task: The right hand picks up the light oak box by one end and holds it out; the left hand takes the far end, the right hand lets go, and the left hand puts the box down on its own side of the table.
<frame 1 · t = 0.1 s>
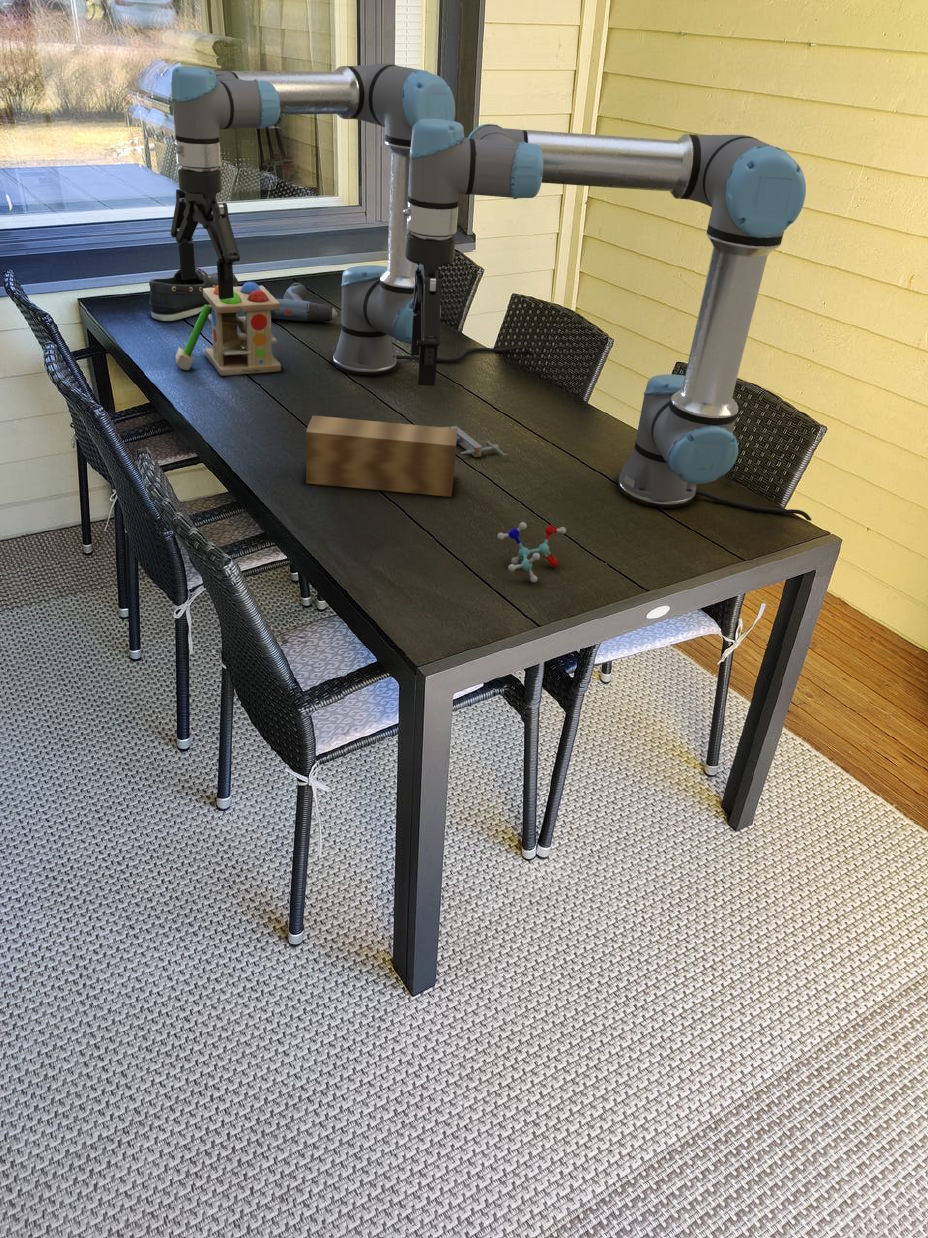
left hand: (207, 288, 186), 28 cm above the table, tool pointing down, fingers open, 13 cm apart
right hand: (422, 369, 160), 28 cm above the table, tool pointing down, fingers open, 13 cm apart
pounding bench toy: (225, 365, 230), on the table
power drill: (305, 313, 267), on the table
clamp: (468, 450, 202), on the table
box: (381, 481, 188), on the table
molecular model: (526, 568, 165), on the table
boat shoe: (196, 305, 265), on the table
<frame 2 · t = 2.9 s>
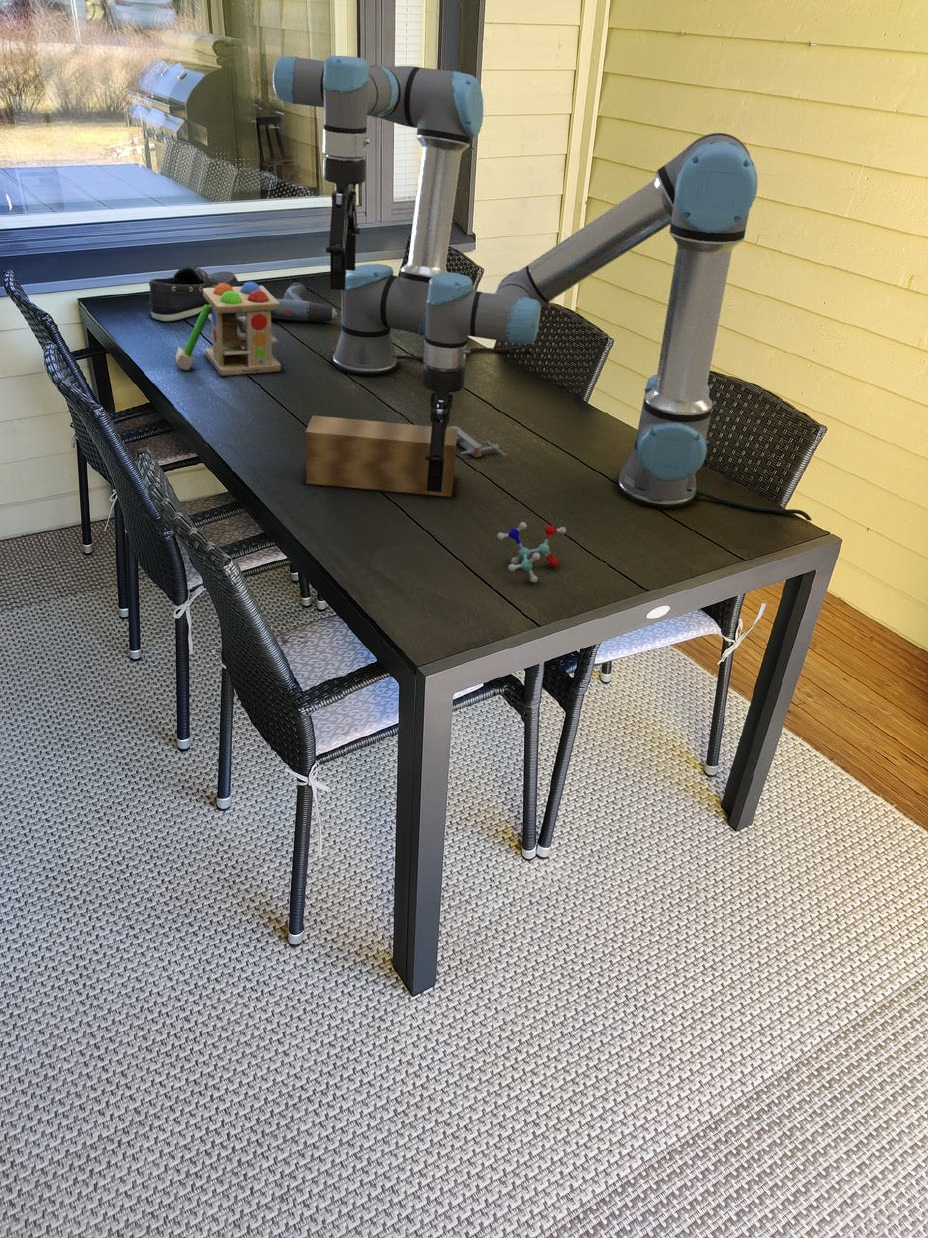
left hand: (343, 279, 185), 32 cm above the table, tool pointing down, fingers open, 13 cm apart
right hand: (435, 480, 187), 1 cm above the table, tool pointing down, fingers closed on box, 8 cm apart
box: (381, 481, 187), on the table, touching right hand
everything else where it was.
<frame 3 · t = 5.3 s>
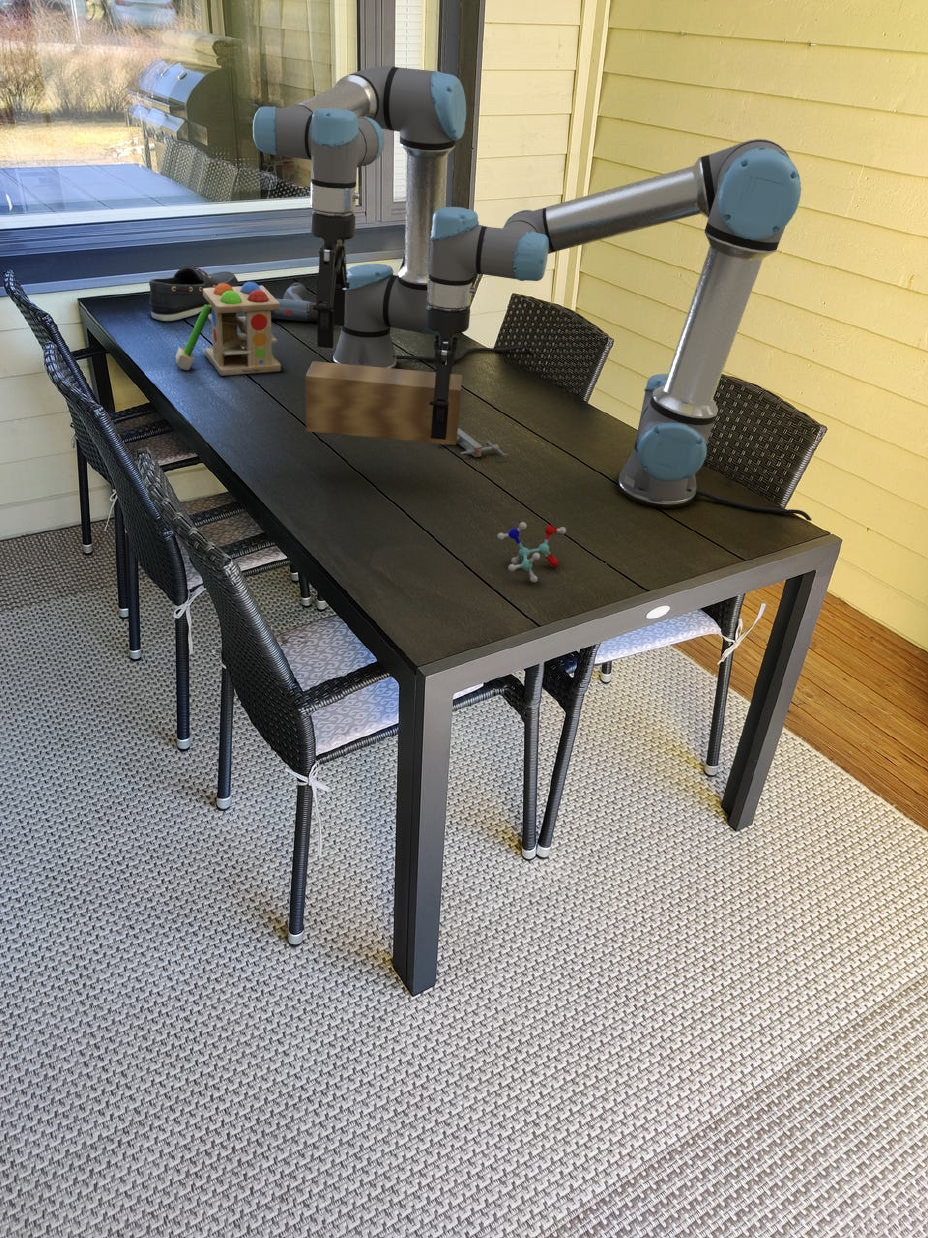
left hand: (331, 335, 178), 25 cm above the table, tool pointing down, fingers open, 13 cm apart
right hand: (439, 428, 181), 12 cm above the table, tool pointing down, fingers closed on box, 8 cm apart
box: (383, 429, 182), point 11 cm above the table, touching right hand
everything else where it was.
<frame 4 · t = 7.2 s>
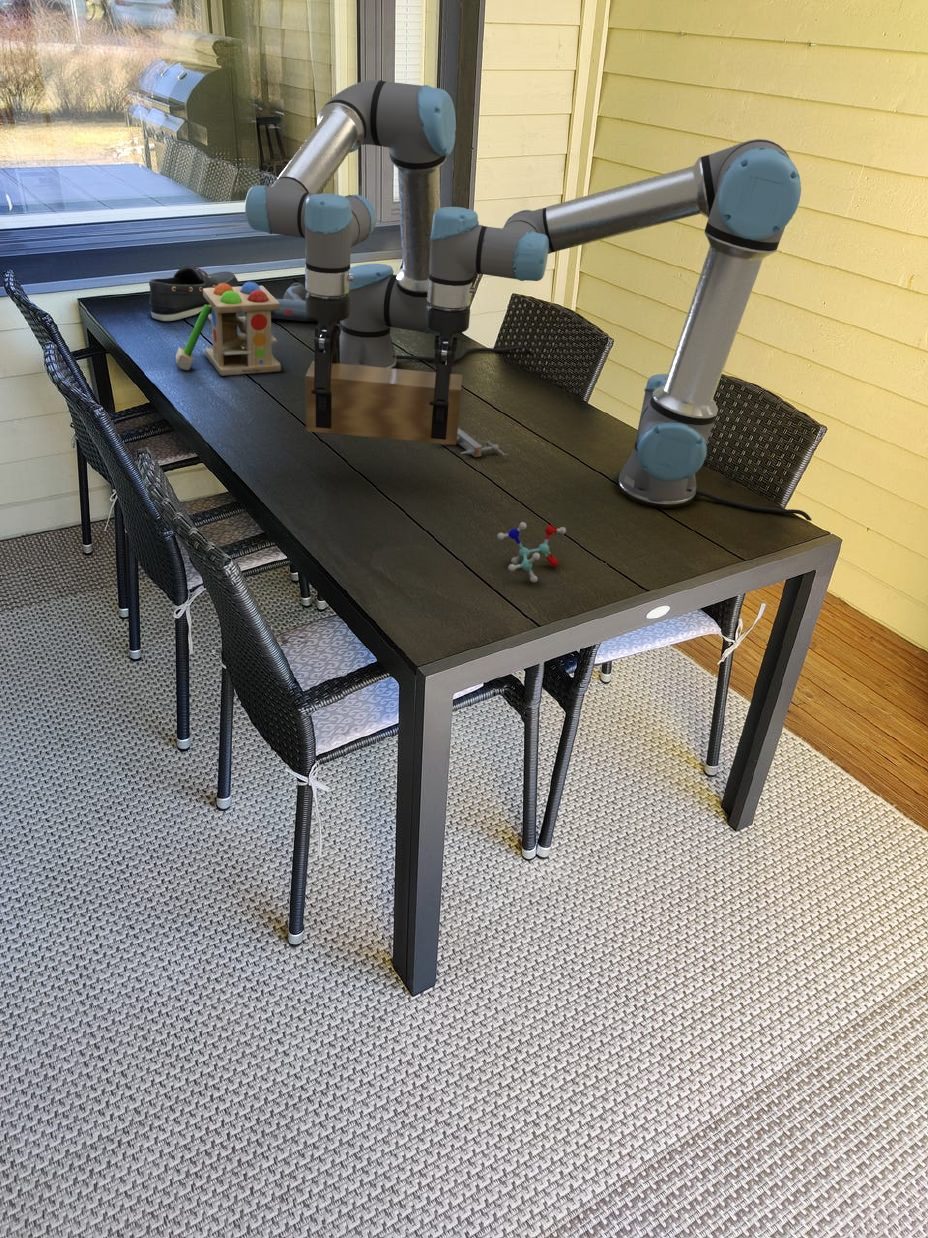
left hand: (327, 417, 181), 12 cm above the table, tool pointing down, fingers closed on box, 8 cm apart
right hand: (439, 428, 181), 12 cm above the table, tool pointing down, fingers closed on box, 8 cm apart
box: (383, 429, 182), point 11 cm above the table, touching left hand, right hand
everything else where it was.
when the right hand's fingers open (12 cm above the table, at t = 8.2 s): box stays where it is, held by the left hand.
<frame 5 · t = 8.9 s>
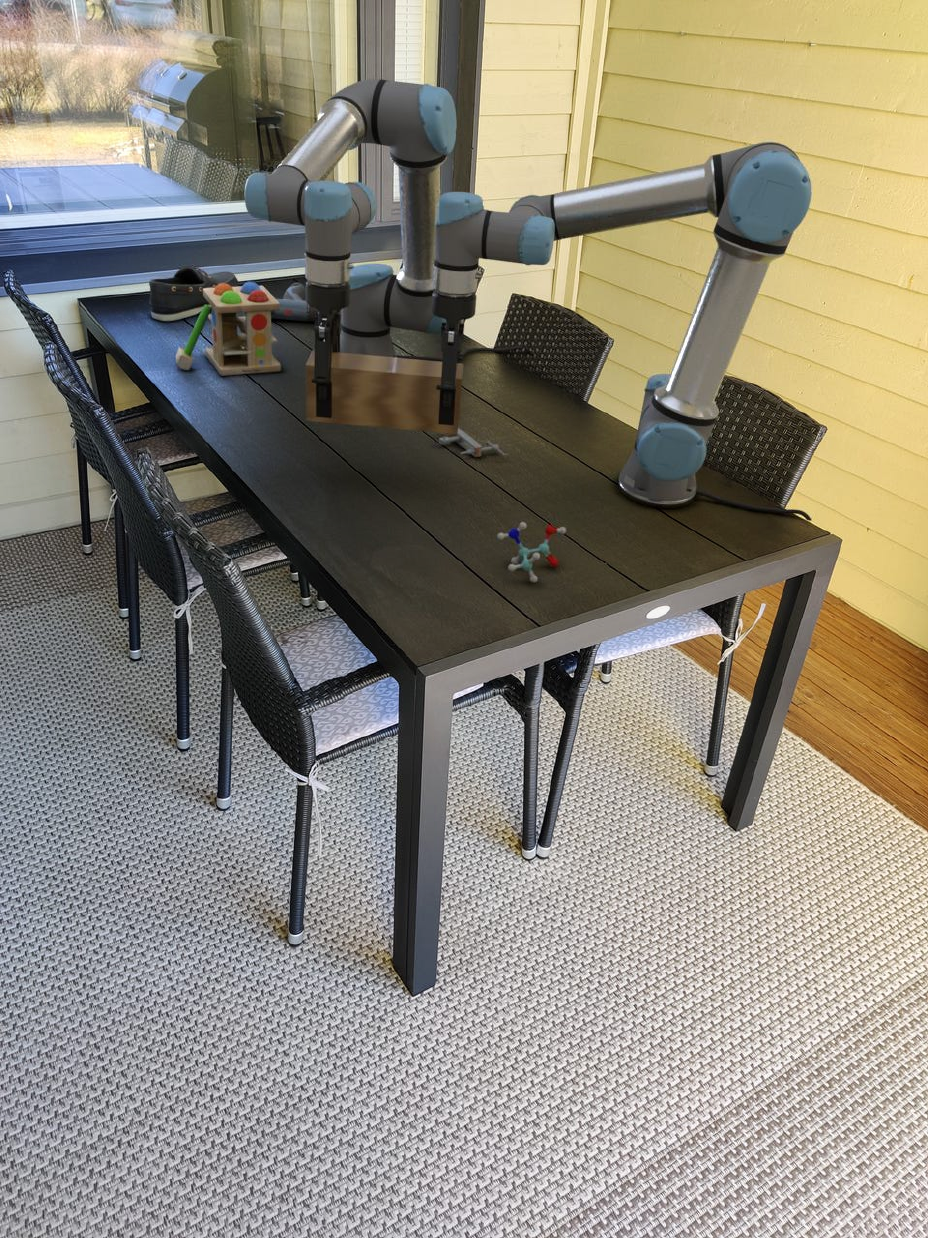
left hand: (327, 407, 180), 14 cm above the table, tool pointing down, fingers closed on box, 8 cm apart
right hand: (447, 409, 179), 16 cm above the table, tool pointing down, fingers open, 13 cm apart
box: (384, 419, 181), point 13 cm above the table, touching left hand
everything else where it was.
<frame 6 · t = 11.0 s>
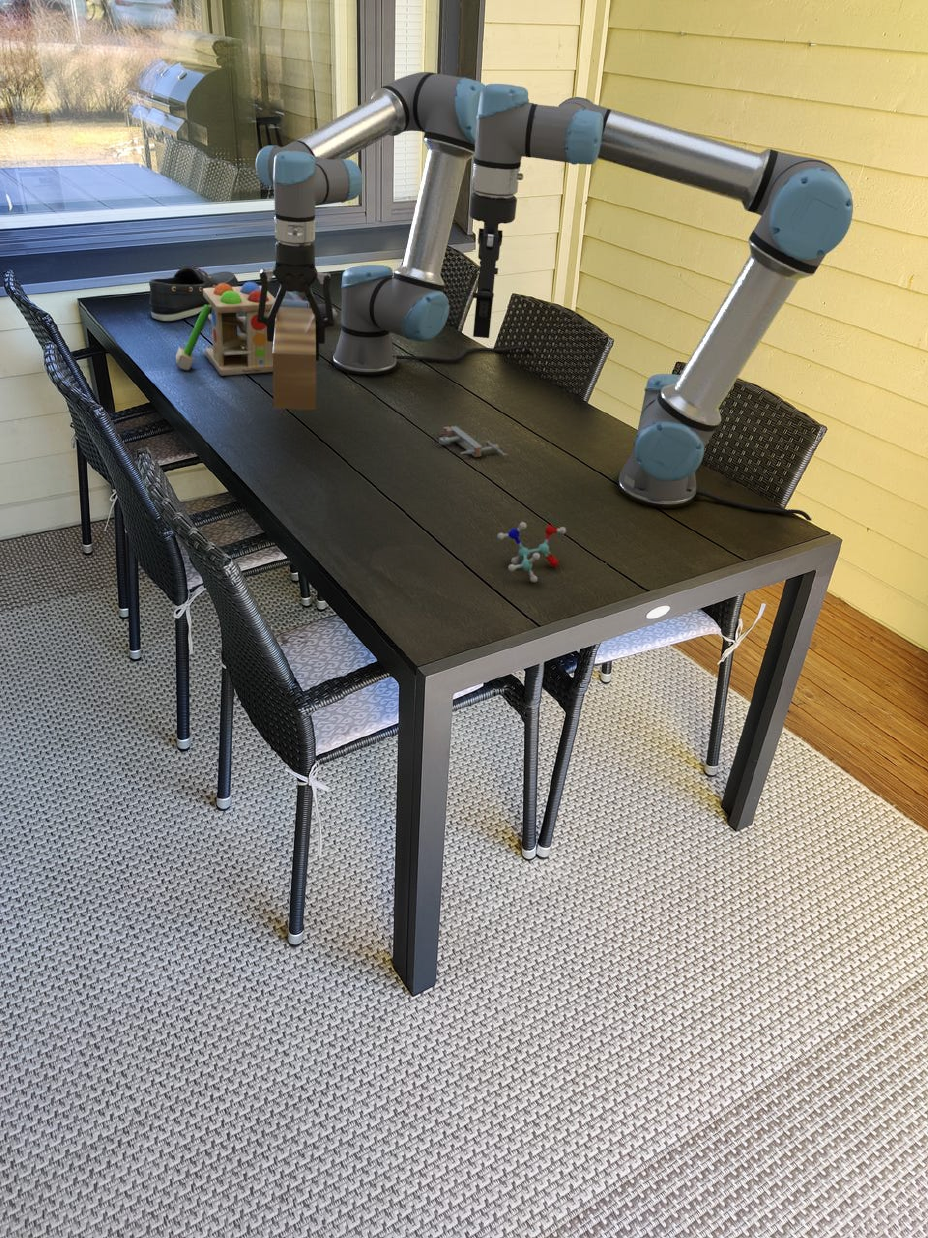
left hand: (296, 357, 200), 14 cm above the table, tool pointing down, fingers closed on box, 8 cm apart
right hand: (482, 324, 170), 32 cm above the table, tool pointing down, fingers open, 13 cm apart
box: (295, 382, 192), point 13 cm above the table, touching left hand
everything else where it was.
when the left hand's fingers open (3 cm above the table, at t = 12.5 s): box drops 1 cm, on the table.
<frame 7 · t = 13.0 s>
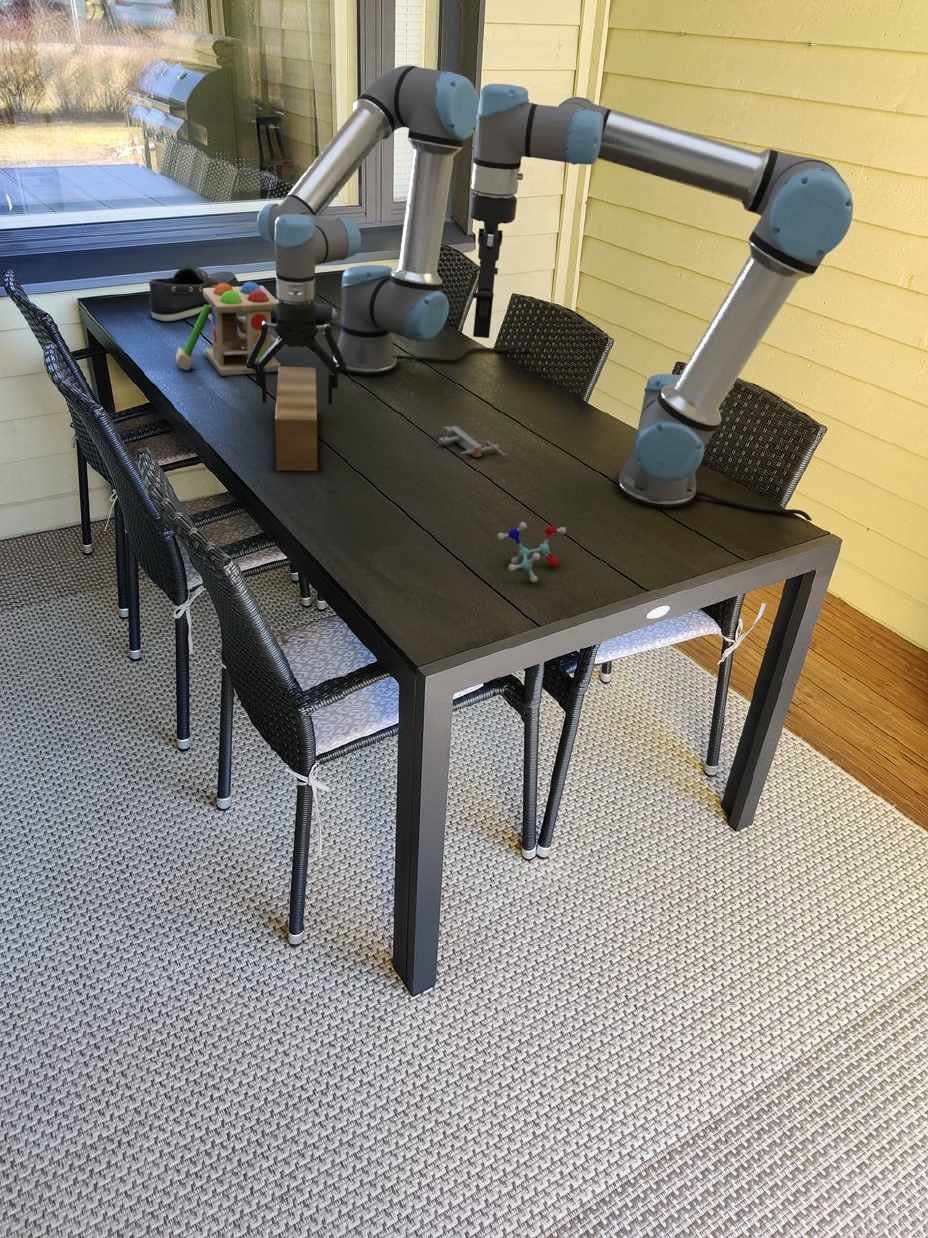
left hand: (297, 401, 205), 4 cm above the table, tool pointing down, fingers open, 13 cm apart
right hand: (482, 324, 170), 32 cm above the table, tool pointing down, fingers open, 13 cm apart
box: (297, 440, 199), on the table
everything else where it was.
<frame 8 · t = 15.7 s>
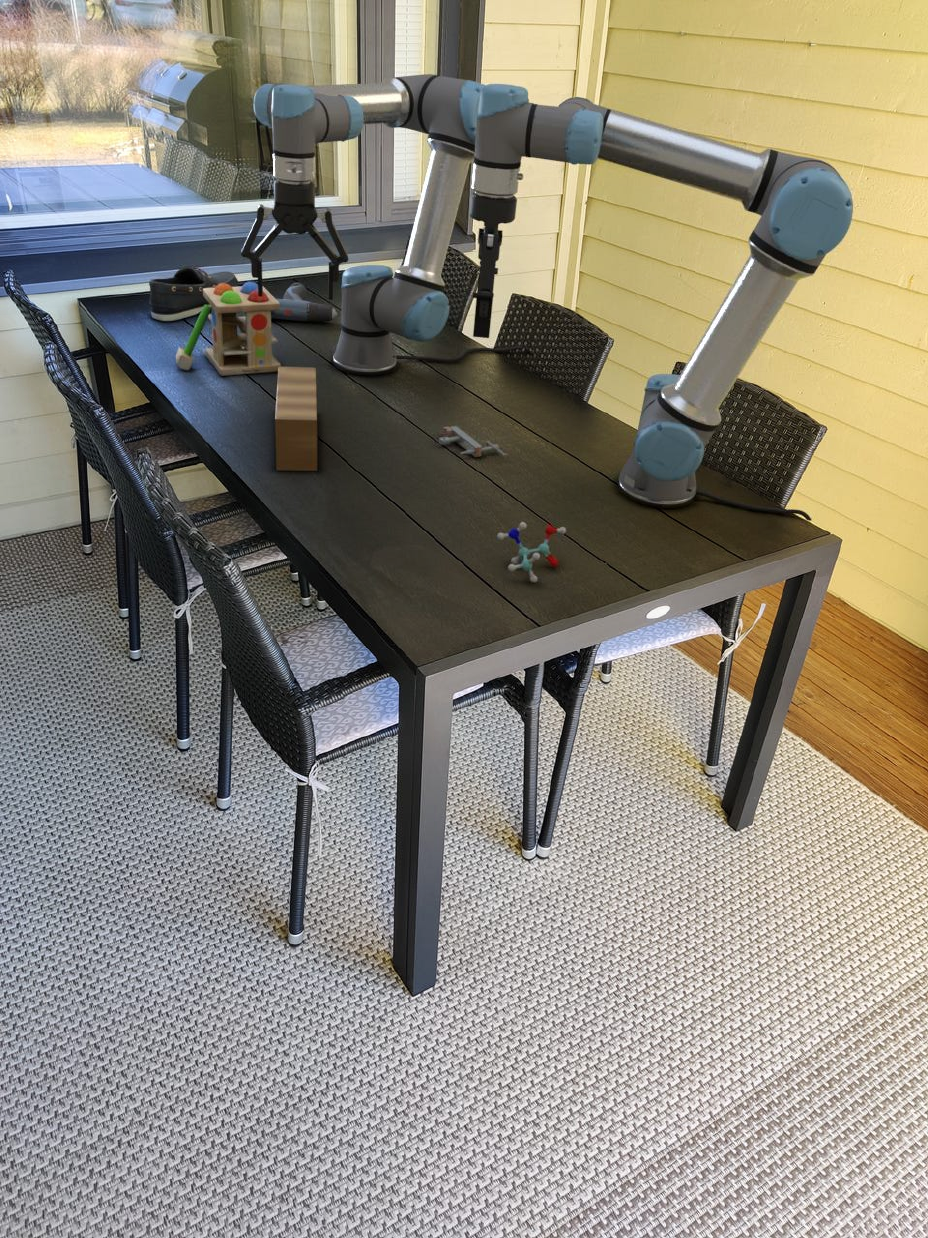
left hand: (295, 296, 193), 26 cm above the table, tool pointing down, fingers open, 13 cm apart
right hand: (482, 324, 170), 32 cm above the table, tool pointing down, fingers open, 13 cm apart
nothing on the table moved.
at the end: box inside the target area (10.4 cm from its centre), on the table; the left hand is holding nothing; the right hand is holding nothing; box at rest at the end (0.0 cm/s) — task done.
